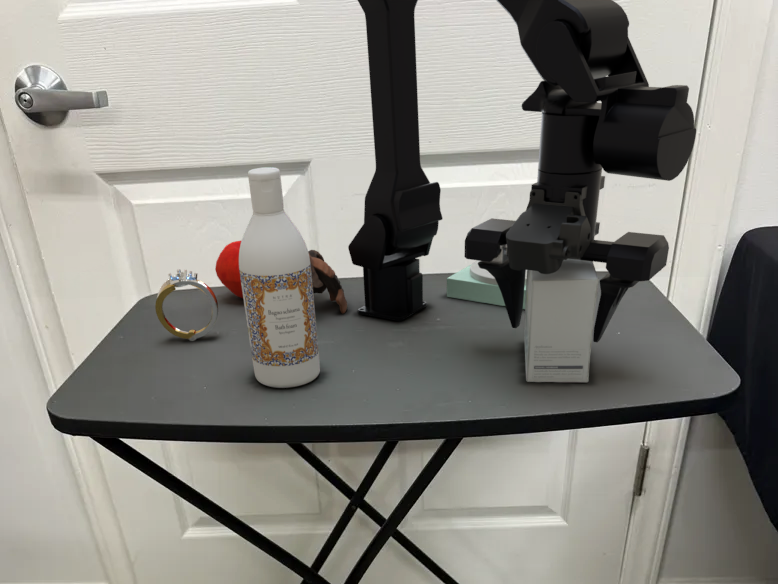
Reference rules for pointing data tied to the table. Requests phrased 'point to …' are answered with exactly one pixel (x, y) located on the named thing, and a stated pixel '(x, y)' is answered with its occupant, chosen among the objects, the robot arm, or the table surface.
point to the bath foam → (277, 289)
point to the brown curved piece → (326, 280)
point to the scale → (476, 286)
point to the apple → (230, 268)
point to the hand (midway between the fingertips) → (555, 333)
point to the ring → (169, 287)
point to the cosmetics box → (560, 322)
